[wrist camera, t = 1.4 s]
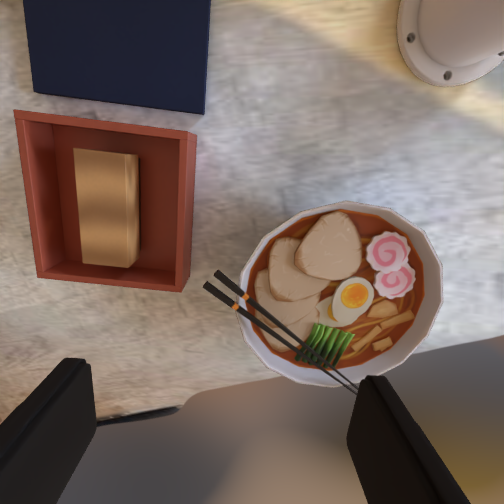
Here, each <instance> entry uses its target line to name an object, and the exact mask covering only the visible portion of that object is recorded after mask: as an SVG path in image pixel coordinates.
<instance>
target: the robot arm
mask: <svg viewBox="0 0 504 504" xmlns="http://www.w3.org/2000/svg"><path fill="white" fill-rule="evenodd" d="M397 35H398V43H399V47H400V51H401V54H402V56H403V58H404V60H405V63H406V65H407V66H408V67H409V68H410V70H411V71H412V72H413V73H414V74H415V75H416V76H417V77H419V78H420V79H421V80H423V81H425V82H427V83H429V84H431V85H436V86H441V87H452V86H457V85H462V84H465V83H468V82H471V81H473V80H476V79H478V78H480V77H482V76H484V75H485V74H487V73H489V72H490V71H491V70H492V69H494V68H495V67H496V66H498V65H499V64H500V63H501V62H502V61H503V60H504V0H401V3H400V7H399V12H398V20H397ZM407 39H408V41H407ZM443 76H444V78H443ZM96 426H97V421H96V412H95V402H94V393H93V383H92V373H91V366H90V364H87V363H86V360H85V359H80V358H64V359H63V360H62V361H61V362H60V363H59V364H58V365H57V366H56V367H55V368H54V369H53V371H52V372H51V373H50V374H49V375H48V376H47V377H46V378H45V379H44V380H43V381H42V382H41V383H40V385H39V386H38V387H37V388H36V389H35V390H34V391H33V392H32V393H31V394H30V395H29V396H28V397H27V398H26V400H25V401H24V402H22V403H21V404H20V405H19V406H18V407H16V409H15V410H14V411H13V412H12V413H11V414H10V415H9V416H8V417H7V418H6V419H5V420H4V421H3V422H2V423H1V425H0V504H56V503H57V501H58V499H59V498H60V495H61V494H62V492H63V490H64V488H65V487H66V485H67V483H68V481H69V480H70V478H71V476H72V474H73V472H74V471H75V469H76V467H77V465H78V463H79V461H80V460H81V458H82V456H83V454H84V453H85V451H86V449H87V447H88V445H89V444H90V442H91V440H92V438H93V436H94V434H95V431H96ZM347 446H348V449H349V452H350V455H351V457H352V460H353V463H354V466H355V468H356V472H357V474H358V477H359V480H360V483H361V485H362V488H363V491H364V494H365V496H366V499H367V502H368V504H471V503H470V502H469V500H468V499H467V497H466V496H465V494H464V493H463V491H462V490H461V488H460V487H459V485H458V484H457V482H456V481H455V479H454V478H453V476H452V474H451V473H450V471H449V470H448V468H447V467H446V465H445V464H444V462H443V461H442V459H441V458H440V457H439V455H438V454H437V452H436V450H435V449H434V447H433V446H432V444H431V443H430V441H429V440H428V438H427V437H426V435H425V434H424V432H423V431H422V429H421V428H420V426H419V425H418V424H417V423H416V422H415V421H414V419H413V418H412V416H411V415H410V413H409V412H408V410H407V408H406V407H405V405H404V404H403V402H402V401H401V399H400V398H399V396H398V395H397V393H396V392H395V390H394V389H393V387H392V386H391V384H390V383H389V382H388V380H387V378H386V377H385V376H377V375H367V376H366V377H365V379H362V380H361V382H360V385H359V389H358V393H357V397H356V401H355V405H354V409H353V413H352V417H351V421H350V425H349V428H348V433H347Z"/></svg>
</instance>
